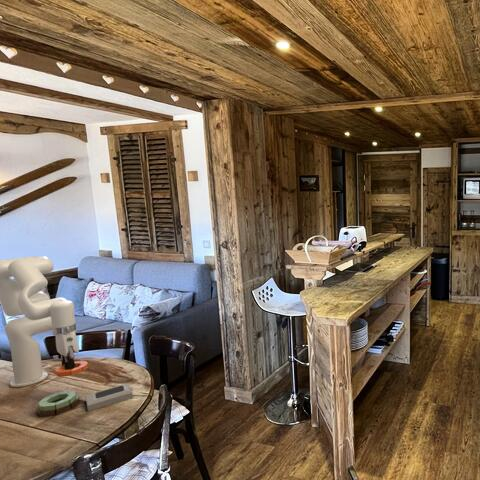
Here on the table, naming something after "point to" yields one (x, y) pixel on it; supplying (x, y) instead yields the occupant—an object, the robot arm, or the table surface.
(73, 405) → the walnut ring
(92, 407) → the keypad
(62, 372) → the terracotta ring
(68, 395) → the green ring
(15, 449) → the table surface
